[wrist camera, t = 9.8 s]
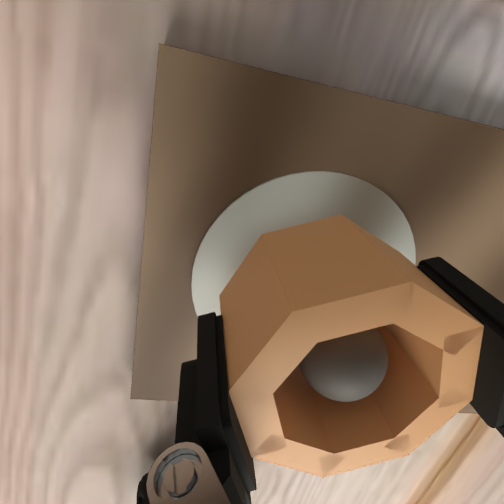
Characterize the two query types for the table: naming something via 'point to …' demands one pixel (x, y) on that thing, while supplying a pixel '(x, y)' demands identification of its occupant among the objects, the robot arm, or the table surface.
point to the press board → (298, 201)
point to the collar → (333, 326)
